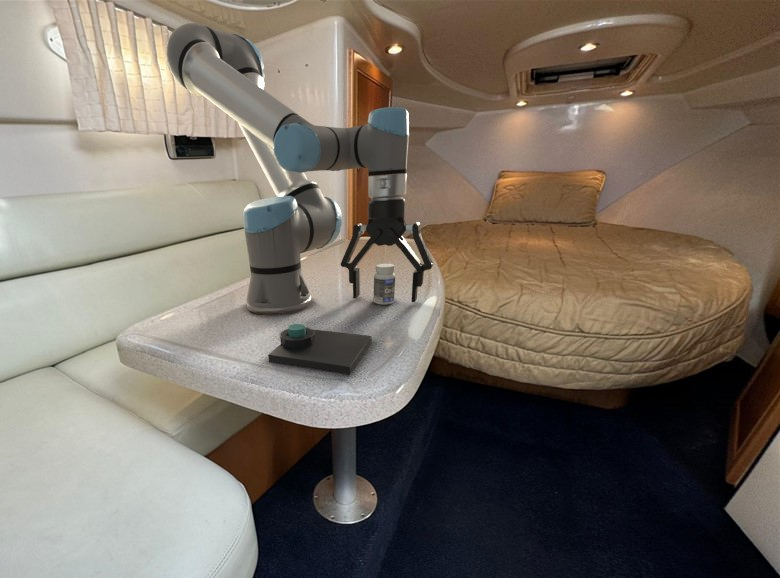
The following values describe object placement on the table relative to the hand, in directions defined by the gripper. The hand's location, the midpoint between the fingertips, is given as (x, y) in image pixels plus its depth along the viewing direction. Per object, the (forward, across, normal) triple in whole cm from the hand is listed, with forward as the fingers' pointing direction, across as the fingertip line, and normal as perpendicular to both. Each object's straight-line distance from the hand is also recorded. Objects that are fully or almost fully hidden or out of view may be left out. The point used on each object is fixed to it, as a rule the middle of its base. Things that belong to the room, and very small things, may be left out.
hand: (384, 298), depth 84 cm
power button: (-2, -8, -29) cm, 30 cm away
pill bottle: (+1, 0, 0) cm, 1 cm away
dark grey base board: (+1, -4, -29) cm, 29 cm away
